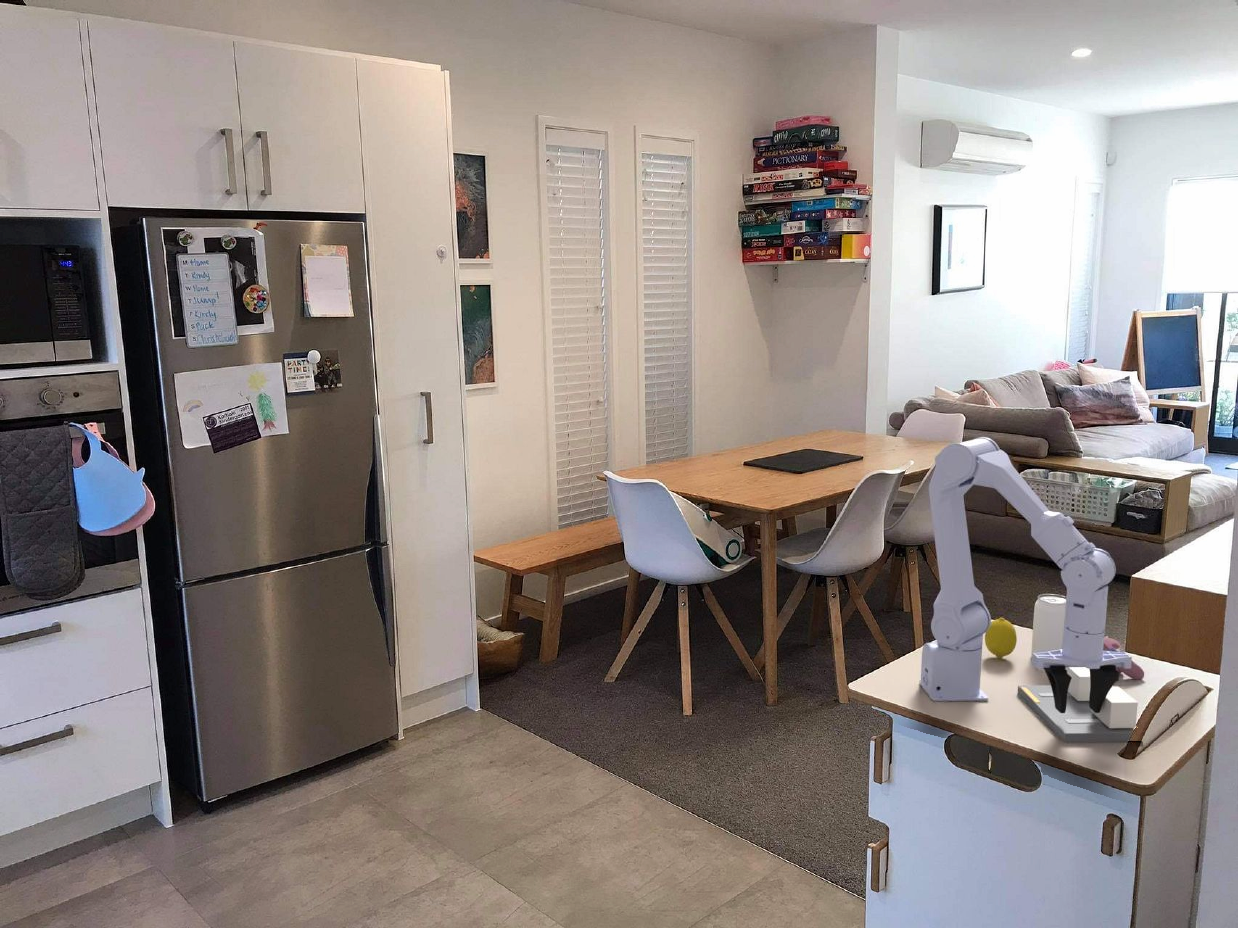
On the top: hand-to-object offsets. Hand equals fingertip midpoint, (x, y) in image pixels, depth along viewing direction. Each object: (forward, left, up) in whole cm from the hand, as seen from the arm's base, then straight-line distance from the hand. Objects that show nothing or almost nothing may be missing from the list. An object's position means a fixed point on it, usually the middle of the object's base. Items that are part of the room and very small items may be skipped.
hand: (1077, 710), depth 153 cm
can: (+8, +29, -4) cm, 30 cm away
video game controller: (+19, +24, -4) cm, 31 cm away
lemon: (-1, +30, -4) cm, 30 cm away
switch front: (+6, 0, -2) cm, 6 cm away
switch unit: (+2, +5, -3) cm, 7 cm away
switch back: (+5, +10, -2) cm, 11 cm away
